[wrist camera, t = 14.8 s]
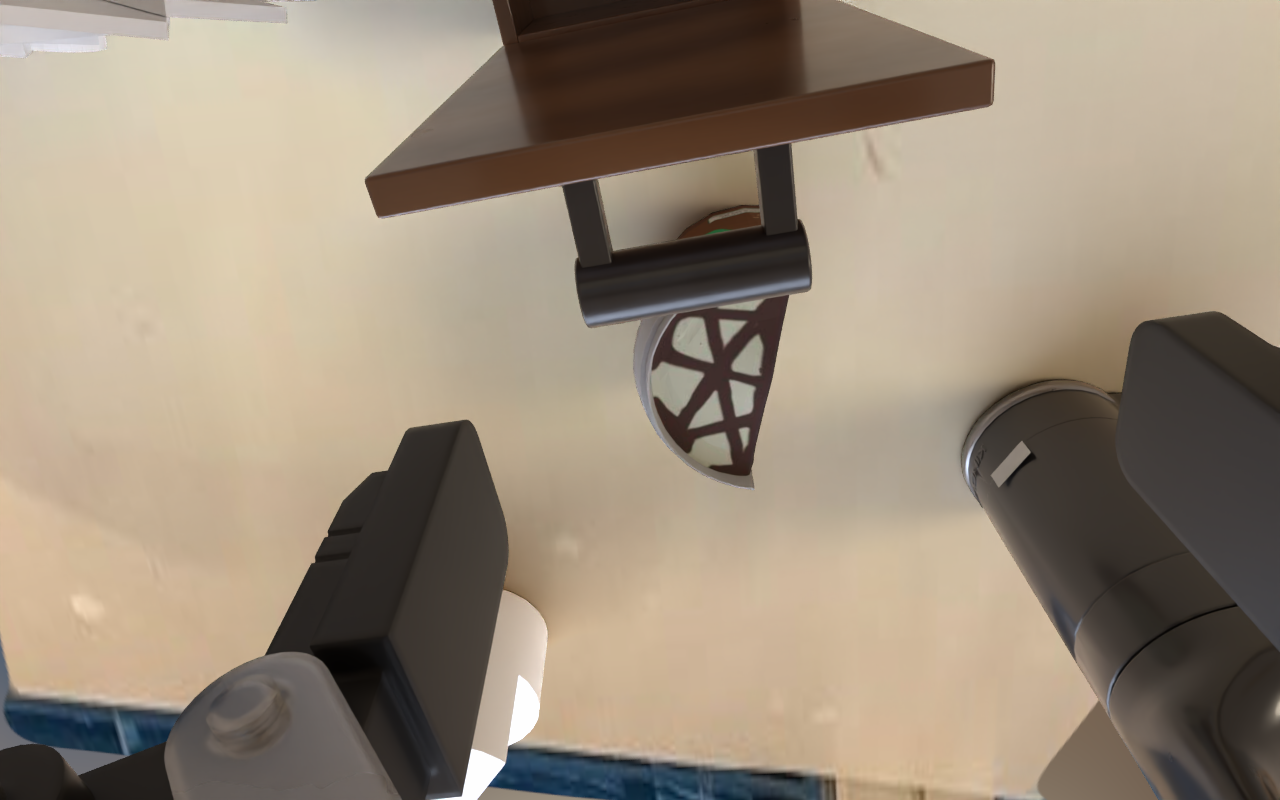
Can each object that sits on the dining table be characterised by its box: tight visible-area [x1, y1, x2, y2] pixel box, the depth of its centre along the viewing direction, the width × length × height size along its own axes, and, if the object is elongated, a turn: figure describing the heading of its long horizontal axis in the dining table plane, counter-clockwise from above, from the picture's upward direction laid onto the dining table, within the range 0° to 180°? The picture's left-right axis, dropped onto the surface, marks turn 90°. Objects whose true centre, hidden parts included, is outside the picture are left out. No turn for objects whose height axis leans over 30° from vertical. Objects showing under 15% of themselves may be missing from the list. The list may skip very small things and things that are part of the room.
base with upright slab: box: [436, 590, 548, 800], centre depth 50 cm, size 9×9×12 cm
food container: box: [633, 205, 789, 490], centre depth 38 cm, size 12×6×10 cm, turn 174°
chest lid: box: [365, 0, 995, 328], centre depth 23 cm, size 18×11×5 cm
